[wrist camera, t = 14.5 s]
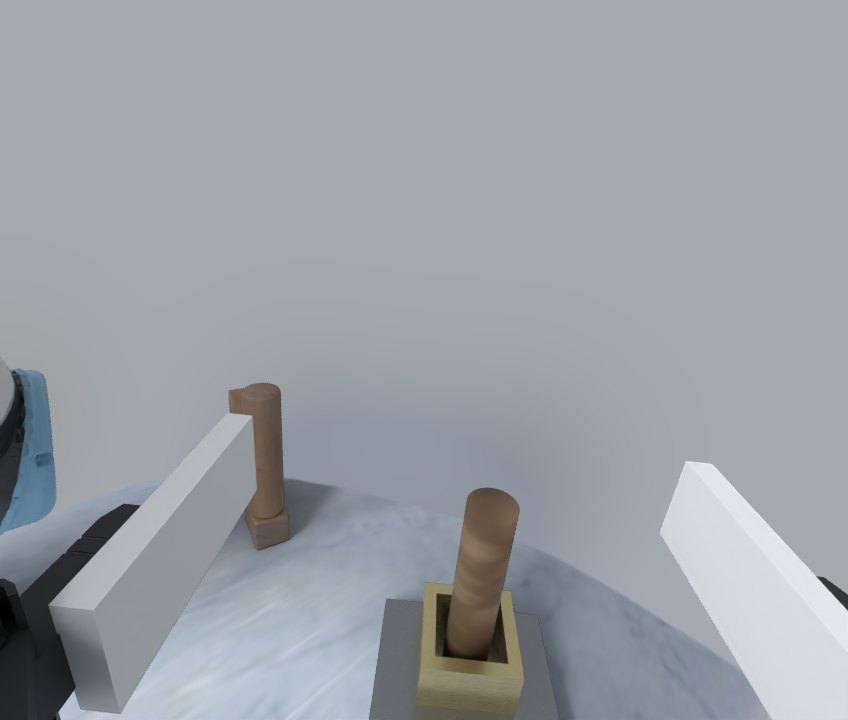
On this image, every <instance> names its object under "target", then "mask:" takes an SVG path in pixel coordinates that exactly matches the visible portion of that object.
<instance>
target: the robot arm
mask: <svg viewBox="0 0 848 720" xmlns="http://www.w3.org/2000/svg"><path fill="white" fill-rule="evenodd" d="M256 490H257V484H256V467H255V450H254V433H253V416H251V415H241V414H232V413H227V414H226V415H225V416H224V417H223V418H222V419H221V421H220V422H219V423H218V424H217V425H216V426H215V427H214V428H213V429H212V430H211V431H210V432H209V433H208V434H207V435H206V437H205V438H204V439H203V440H202V441H201V442H200V443H199V444H198V445H197V446H196V447H195V448H194V449H193V451H192V452H191V453H190V454H189V455H188V456H187V457H186V458H185V459H184V460H183V461H182V462H181V463H180V464H179V465H178V467H177V468H176V469H175V470H174V471H173V472H172V473H171V474H170V475H169V476H168V477H167V478H166V479H165V480H164V482H163V483H162V484H161V485H160V486H159V487H158V488H157V489H156V490H155V491H154V492H153V493H152V494H151V495H150V497H149V498H148V499H147V500H146V501H145V502H144V503H143V504H142V505H141V506H139V505H130V504H123V505H121V506H119V507H117V508H116V509H114V510H112V511H111V512H109V513H107V514H106V515H104V516H102V517H101V518H99V519H98V520H97V521H96V522H95V523H94V524H93V525H92V526H91V527H90V528H89V529H88V530H87V531H86V532H85V533H84V534H83V535H82V538H81V539H78V540H77V541H76V542H75V543H74V544H73V545H72V546H71V547H70V548H69V549H68V550H67V553H66V554H63V555H62V556H61V557H60V558H59V559H57V560H56V561H55V562H54V563H53V564H52V565H51V566H50V567H49V568H48V569H47V570H46V571H45V572H44V573H43V574H42V575H41V576H40V577H39V578H38V579H37V580H36V581H35V582H34V583H33V584H32V585H31V586H30V587H29V588H28V589H27V590H26V591H25V592H24V593H23V594H22V595H21V596H20V597H19V595H18V592H17V589H16V587H15V584H14V583H12V582H10V581H8V580H5V579H0V720H61V719H60V716H59V713H58V712H59V710H60V709H61V708H62V706H63V705H64V703H65V702H66V701H67V699H68V698H69V697H70V695H71V694H72V692H73V691H74V690H75V694H76V697H77V700H78V703H79V707H80V709H81V710H90V711H99V712H108V713H117V714H121V712H122V710H123V709H124V707H125V705H126V704H127V702H128V700H129V699H130V697H131V696H132V694H133V692H134V691H135V689H136V687H137V686H138V684H139V682H140V681H141V679H142V677H143V676H144V674H145V673H146V671H147V669H148V668H149V666H150V664H151V663H152V661H153V659H154V658H155V656H156V654H157V653H158V651H159V650H160V648H161V646H162V645H163V643H164V641H165V640H166V638H167V636H168V635H169V633H170V631H171V630H172V628H173V627H174V625H175V623H176V622H177V620H178V618H179V617H180V615H181V613H182V612H183V610H184V609H185V607H186V605H187V604H188V602H189V600H190V599H191V597H192V595H193V594H194V592H195V590H196V589H197V587H198V586H199V584H200V582H201V581H202V579H203V577H204V576H205V574H206V572H207V571H208V569H209V567H210V566H211V564H212V563H213V561H214V559H215V558H216V556H217V554H218V553H219V551H220V549H221V548H222V546H223V544H224V543H225V541H226V540H227V538H228V536H229V535H230V533H231V531H232V530H233V528H234V526H235V525H236V523H237V521H238V520H239V518H240V517H241V515H242V513H243V512H244V510H245V508H246V507H247V505H248V503H249V502H250V500H251V499H252V497H253V495H254V494H255V492H256ZM55 502H56V479H55V466H54V458H53V446H52V430H51V420H50V411H49V401H48V393H47V386H46V380H45V378H44V376H43V374H41V373H40V372H38V371H34V370H28V371H24V370H22V369H16V370H9V368H8V367H7V365H6V364H5V362H4V361H3V360H2V359H1V358H0V535H2V534H3V533H4V532H6V531H9V530H12V529H15V528H18V527H21V526H24V525H27V524H30V523H33V522H36V521H39V520H40V519H42V518H44V517H45V516H46V515H48V514H49V513H50V512H51V510H52V509H53V507H54V505H55ZM660 534H661V536H662V537H663V539H664V541H665V542H666V544H667V546H668V547H669V549H670V551H671V552H672V554H673V556H674V557H675V559H676V561H677V562H678V564H679V566H680V567H681V569H682V570H683V572H684V574H685V576H686V577H687V579H688V581H689V582H690V584H691V586H692V587H693V589H694V591H695V592H696V594H697V596H698V597H699V599H700V601H701V602H702V604H703V606H704V607H705V609H706V611H707V612H708V614H709V616H710V617H711V619H712V621H713V622H714V624H715V626H716V627H717V629H718V631H719V632H720V634H721V636H722V637H723V639H724V641H725V642H726V644H727V646H728V647H729V649H730V651H731V652H732V654H733V656H734V657H735V659H736V661H737V662H738V664H739V666H740V667H741V669H742V671H743V672H744V674H745V676H746V678H747V679H748V681H749V683H750V684H751V686H752V688H753V689H754V691H755V693H756V694H757V696H758V698H759V699H760V701H761V703H762V704H763V706H764V708H765V709H766V711H767V713H768V714H769V716H770V718H771V719H772V720H848V595H847V594H846V593H845V592H843V591H842V590H841V589H839V588H838V587H837V586H835V585H834V584H833V583H831V582H830V581H828V580H827V579H826V578H824V577H817V576H815V575H814V574H813V573H812V572H811V571H810V569H809V568H808V567H807V566H806V565H805V564H804V563H803V562H802V561H801V560H800V559H799V558H798V557H797V555H796V554H795V553H794V552H793V551H792V550H791V549H790V548H789V547H788V546H787V545H786V544H785V543H784V541H783V540H782V539H781V538H780V537H779V536H778V535H777V534H776V533H775V532H774V531H773V530H772V528H771V527H769V525H768V524H767V523H766V522H765V521H764V520H763V519H762V518H761V517H760V516H759V514H758V513H757V512H756V511H755V510H754V509H753V508H752V507H751V506H750V505H749V504H748V502H746V500H745V499H744V498H743V497H742V496H741V495H740V494H739V493H738V492H737V491H736V490H735V488H734V487H733V486H732V485H730V483H729V482H728V481H727V480H726V479H725V478H724V477H723V476H722V475H721V473H720V472H719V471H718V470H717V469H716V468H715V467H714V466H713V465H712V464H708V463H699V462H690V461H686V463H685V466H684V468H683V471H682V474H681V476H680V479H679V482H678V485H677V487H676V490H675V493H674V495H673V498H672V501H671V503H670V506H669V509H668V512H667V514H666V517H665V519H664V522H663V525H662V528H661V530H660Z"/></svg>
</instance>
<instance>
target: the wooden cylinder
mask: <svg viewBox="0 0 848 720" xmlns="http://www.w3.org/2000/svg"><path fill="white" fill-rule="evenodd" d="M518 516H519V505H518V503H517V502H516V500H515V499H514V498H513V497H512V496H510V495H509V494H507V493H506V492H504V491H501V490H498V489H493V488H480V489H477V490H474V491H473V492H471V493H470V494H469V496H468V498H467V503H466V510H465V516H464V522H463V528H462V534H461V541H460V547H459V553H458V560H457V566H456V573H455V579H454V585H453V592H452V598H451V604H450V611H449V617H448V623H447V630H446V636H445V642H444V649H443V655H442V657H449V658H458V659H467V660H476V661H485V662H487V660H488V656H489V651H490V646H491V642H492V637H493V632H494V628H495V623H496V619H497V614H498V609H499V605H500V600H501V595H502V591H503V586H504V581H505V577H506V572H507V567H508V563H509V558H510V553H511V549H512V544H513V539H514V535H515V530H516V525H517V521H518Z"/></svg>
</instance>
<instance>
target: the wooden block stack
mask: <svg viewBox="0 0 848 720" xmlns="http://www.w3.org/2000/svg"><path fill="white" fill-rule="evenodd" d="M228 394H229V406H230V413H232V414H241V415H251V416H253V433H254V450H255V467H256V484H257V490H256V492H255V494H254V495H253V497H252V499H251V500H250V502H249V503H248V505H247V507H246V508H245V518H246V522H247V524H248V527H249V530H250V533H251V536H252V539H253V542H254V545H255V548H256V549H257V550H260V549H263V548H266V547H269V546H272V545H275V544H278V543H281V542H284V541H287V540H289V515H288V513H287V510H286V508H285V506H284V482H283V454H282V453H283V450H282V421H281V420H282V418H281V392H280V389H279V388H278V387H277V386H276V385H274V384H270V383H257V384H252V385H249V386H247V387H245V388H242V389H235V390H229V393H228Z"/></svg>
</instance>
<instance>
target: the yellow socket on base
mask: <svg viewBox="0 0 848 720" xmlns="http://www.w3.org/2000/svg"><path fill="white" fill-rule="evenodd" d="M452 592H453V585H448V584H438V583H429V582H425V588H424V596H423V602H414V601H405V600H395V599H386V605H385V612H384V619H383V626H382V633H381V639H380V646H379V653H378V660H377V667H376V674H375V681H374V688H373V695H372V702H371V709H370V716H369V720H559V717H558V712H557V707H556V702H555V697H554V693H553V688H552V683H551V678H550V673H549V668H548V663H547V659H546V654H545V649H544V644H543V639H542V634H541V630H540V625H539V620H538V615H534V614H525V613H516V612H514V610H513V603H512V597H511V591H502V595H501V600H500V605H499V609H498V614H497V619H496V623H495V628H494V632H493V637H492V642H491V646H490V651H489V656H488V660H487V662H485V661H476V660H467V659H458V658H449V657H442V655H443V649H444V642H445V636H446V630H447V623H448V617H449V611H450V604H451V598H452Z"/></svg>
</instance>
